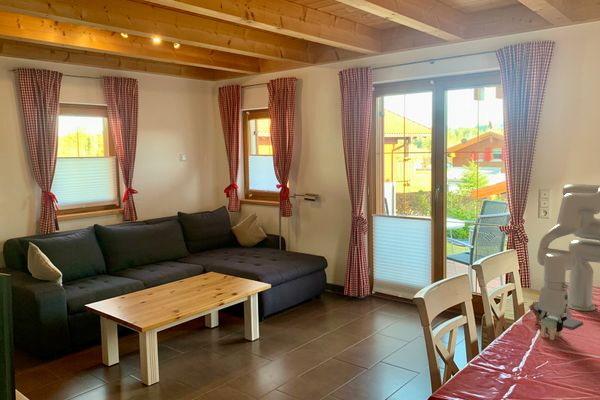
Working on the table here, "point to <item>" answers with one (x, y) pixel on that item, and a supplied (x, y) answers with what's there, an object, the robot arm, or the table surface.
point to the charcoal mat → (568, 322)
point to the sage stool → (549, 326)
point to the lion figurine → (537, 313)
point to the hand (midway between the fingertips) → (551, 328)
